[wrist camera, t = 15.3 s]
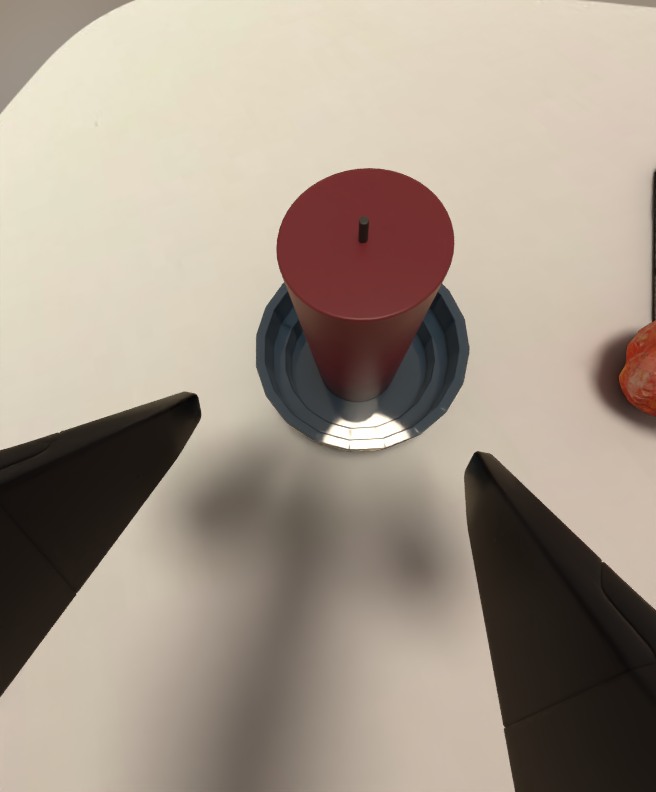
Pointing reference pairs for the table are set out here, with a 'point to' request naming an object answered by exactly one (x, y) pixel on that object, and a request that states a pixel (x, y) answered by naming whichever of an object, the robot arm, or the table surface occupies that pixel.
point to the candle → (363, 272)
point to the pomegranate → (641, 370)
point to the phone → (655, 246)
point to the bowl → (374, 419)
